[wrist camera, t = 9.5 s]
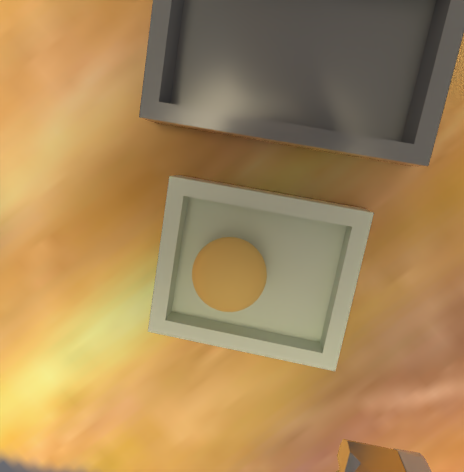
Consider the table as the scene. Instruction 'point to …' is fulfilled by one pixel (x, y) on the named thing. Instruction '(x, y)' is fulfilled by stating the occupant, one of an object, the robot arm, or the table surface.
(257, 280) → the ball
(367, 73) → the dish
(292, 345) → the tray
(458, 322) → the table surface
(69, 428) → the table surface
